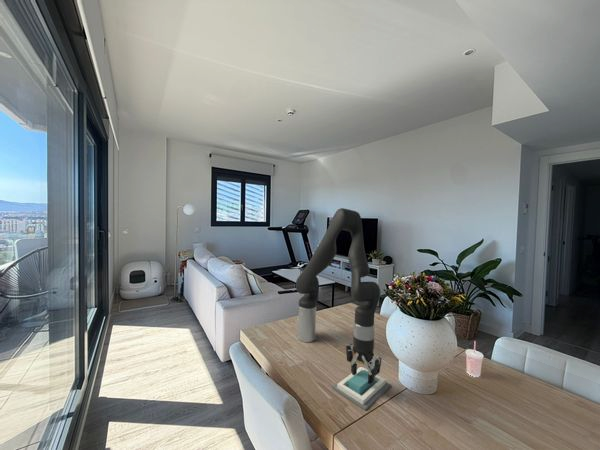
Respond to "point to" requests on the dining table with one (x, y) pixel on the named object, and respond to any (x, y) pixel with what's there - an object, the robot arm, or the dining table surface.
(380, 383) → the mat
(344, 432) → the dining table surface
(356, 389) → the teal block
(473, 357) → the beverage cup
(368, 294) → the robot arm
